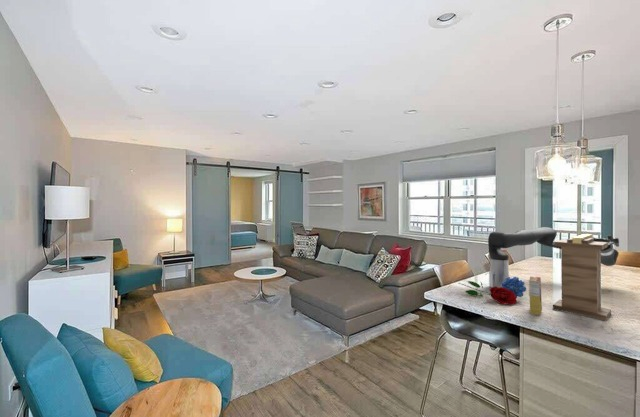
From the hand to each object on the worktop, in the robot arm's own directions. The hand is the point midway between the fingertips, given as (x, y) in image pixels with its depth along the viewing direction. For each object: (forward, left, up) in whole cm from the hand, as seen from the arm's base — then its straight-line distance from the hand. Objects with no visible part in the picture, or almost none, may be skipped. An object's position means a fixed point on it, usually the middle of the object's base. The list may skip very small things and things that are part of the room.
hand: (597, 236), depth 151 cm
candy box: (-42, -30, -32) cm, 61 cm away
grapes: (-44, -12, -32) cm, 56 cm away
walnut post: (-22, -26, -32) cm, 47 cm away
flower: (-59, -14, -33) cm, 69 cm away
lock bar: (-19, -23, 0) cm, 30 cm away
